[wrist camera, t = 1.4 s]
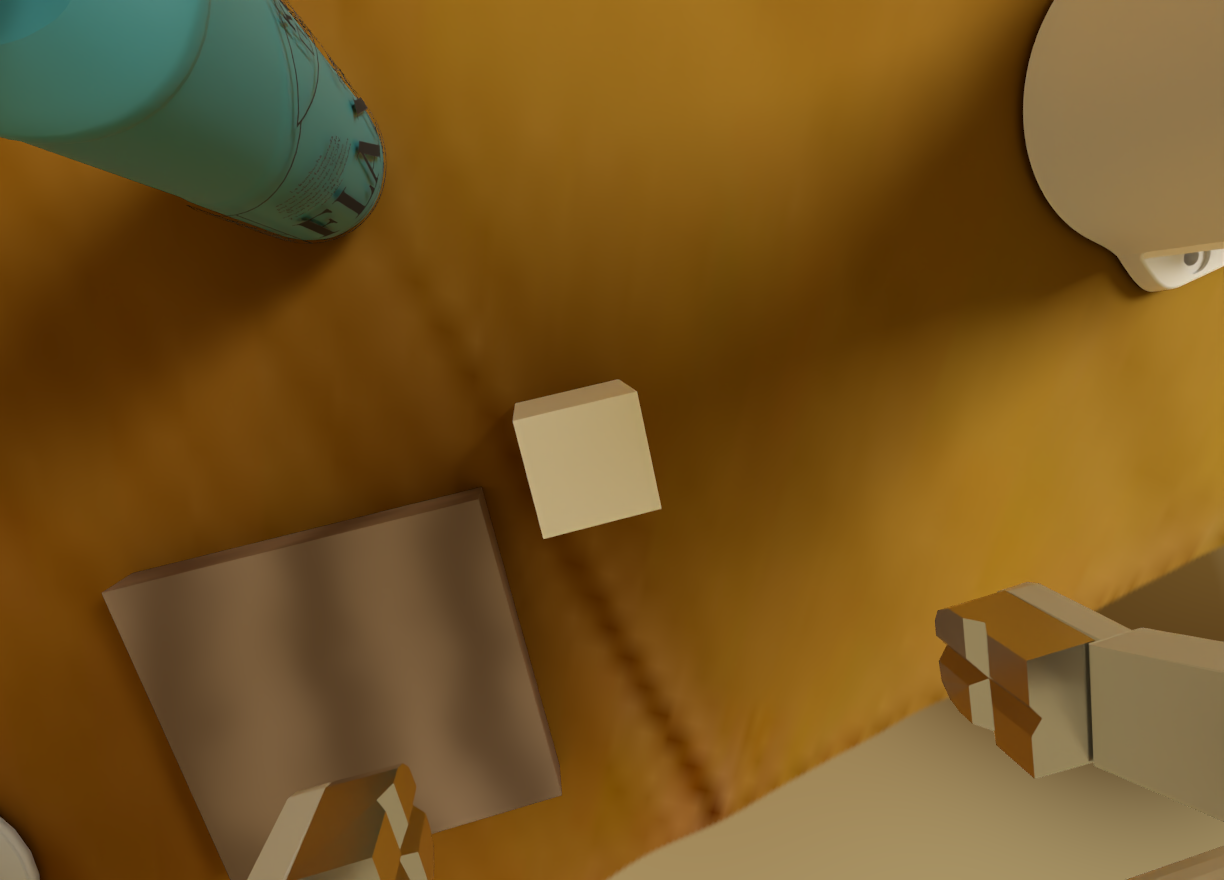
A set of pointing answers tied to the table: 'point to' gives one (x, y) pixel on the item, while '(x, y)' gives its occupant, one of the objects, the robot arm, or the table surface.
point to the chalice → (15, 856)
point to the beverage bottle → (194, 106)
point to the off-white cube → (586, 457)
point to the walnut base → (343, 669)
